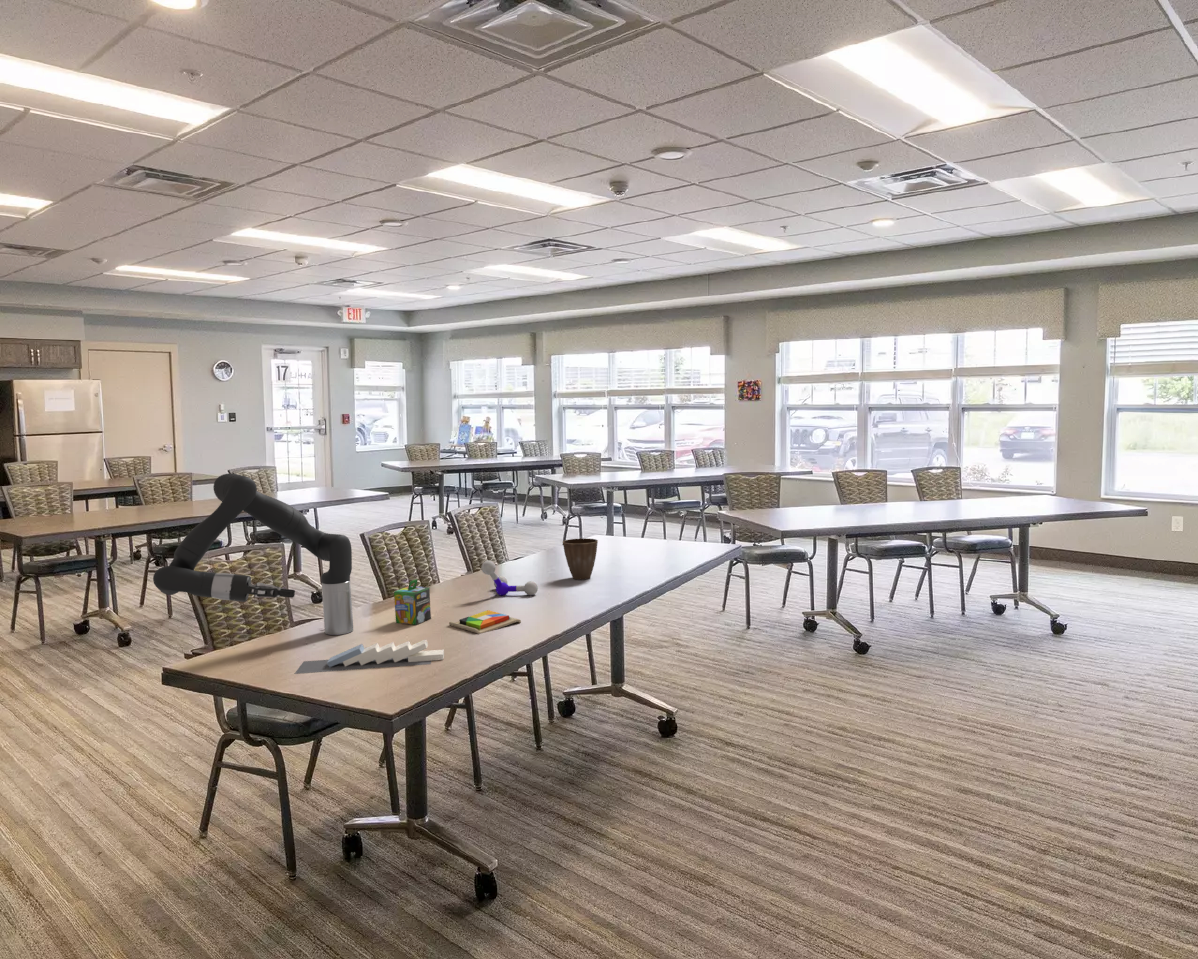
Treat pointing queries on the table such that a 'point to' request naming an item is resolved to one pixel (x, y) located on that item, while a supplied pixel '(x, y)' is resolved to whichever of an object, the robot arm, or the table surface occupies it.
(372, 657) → the tile
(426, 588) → the chalk box
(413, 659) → the tile
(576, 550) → the plant pot
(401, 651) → the tile
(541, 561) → the table surface
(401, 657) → the tile
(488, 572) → the molecular model
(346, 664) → the tile
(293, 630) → the table surface
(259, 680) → the table surface
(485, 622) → the wooden puzzle
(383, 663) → the runner
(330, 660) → the tile
